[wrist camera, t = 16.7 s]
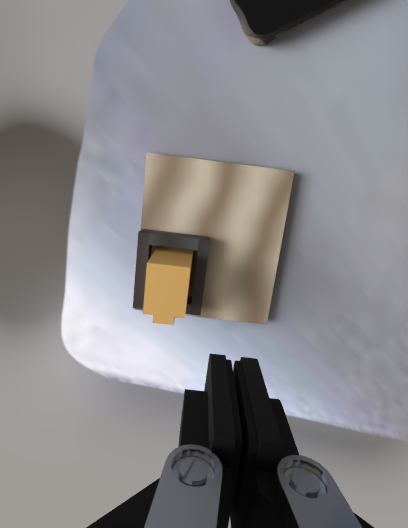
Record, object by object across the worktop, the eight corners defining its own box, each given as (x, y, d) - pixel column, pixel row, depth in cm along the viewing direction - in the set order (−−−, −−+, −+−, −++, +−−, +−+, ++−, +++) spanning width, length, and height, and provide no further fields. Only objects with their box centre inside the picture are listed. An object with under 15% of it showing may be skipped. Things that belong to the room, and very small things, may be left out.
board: (291, 171, 38) (301, 170, 34) (264, 319, 42) (270, 333, 39) (148, 153, 38) (142, 150, 34) (137, 304, 42) (130, 317, 38)
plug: (193, 249, 39) (190, 267, 31) (187, 297, 40) (183, 326, 32) (158, 245, 39) (146, 262, 31) (153, 293, 40) (142, 321, 32)
